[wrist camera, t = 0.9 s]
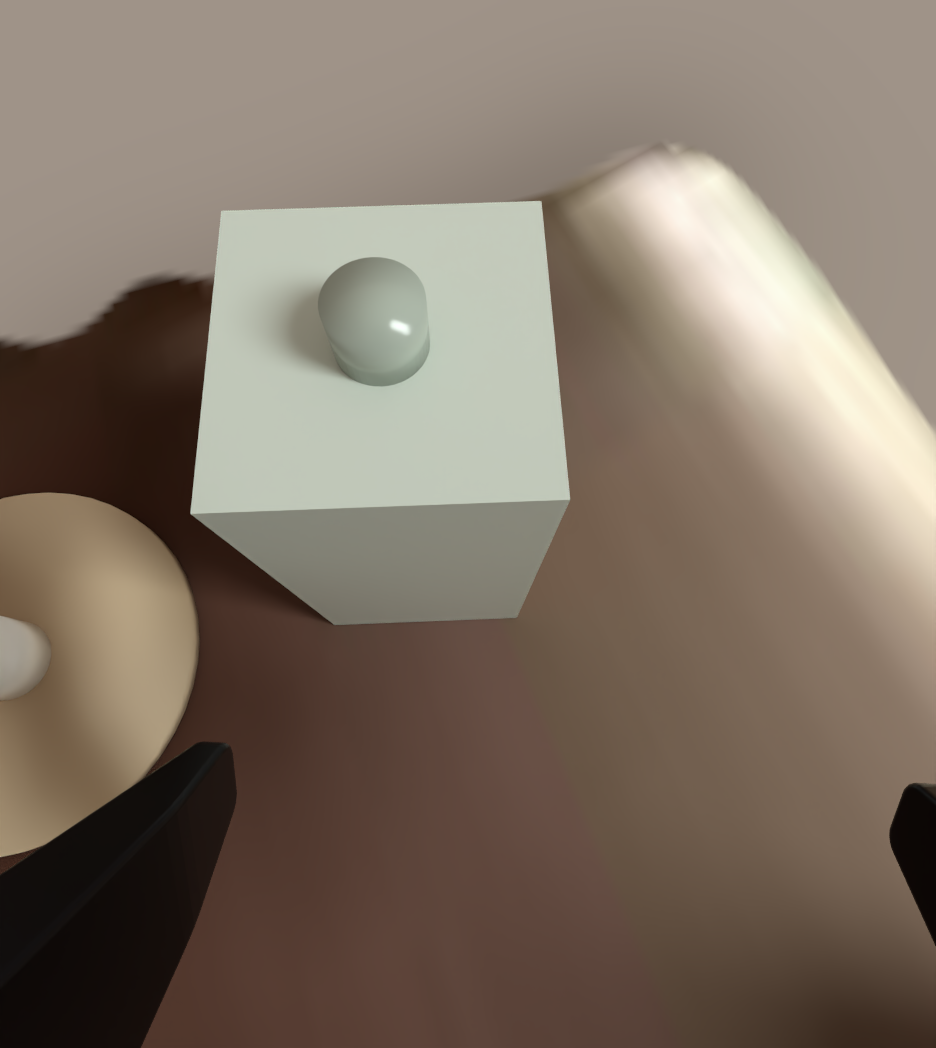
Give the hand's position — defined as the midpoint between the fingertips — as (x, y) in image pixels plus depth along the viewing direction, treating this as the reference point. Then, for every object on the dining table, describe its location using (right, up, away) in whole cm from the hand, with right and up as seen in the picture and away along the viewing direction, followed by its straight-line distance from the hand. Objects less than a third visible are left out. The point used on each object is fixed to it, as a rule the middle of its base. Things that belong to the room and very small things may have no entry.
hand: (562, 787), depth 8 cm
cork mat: (-17, -1, +13) cm, 21 cm away
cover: (-3, +3, +15) cm, 15 cm away
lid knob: (-17, -1, +13) cm, 21 cm away
